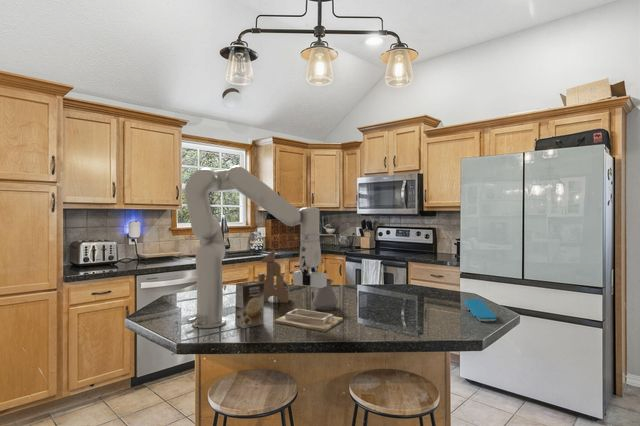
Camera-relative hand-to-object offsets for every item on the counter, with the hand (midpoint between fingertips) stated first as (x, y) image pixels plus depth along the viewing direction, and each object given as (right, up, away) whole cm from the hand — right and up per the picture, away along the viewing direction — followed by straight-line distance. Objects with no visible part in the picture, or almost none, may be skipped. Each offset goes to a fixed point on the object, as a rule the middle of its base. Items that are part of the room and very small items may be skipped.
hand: (309, 283), depth 150 cm
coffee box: (-23, -15, -4) cm, 28 cm away
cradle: (0, -15, 0) cm, 15 cm away
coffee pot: (+6, -15, +25) cm, 30 cm away
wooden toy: (-19, -15, +33) cm, 41 cm away
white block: (0, -1, 0) cm, 1 cm away
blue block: (+71, -16, +11) cm, 74 cm away
